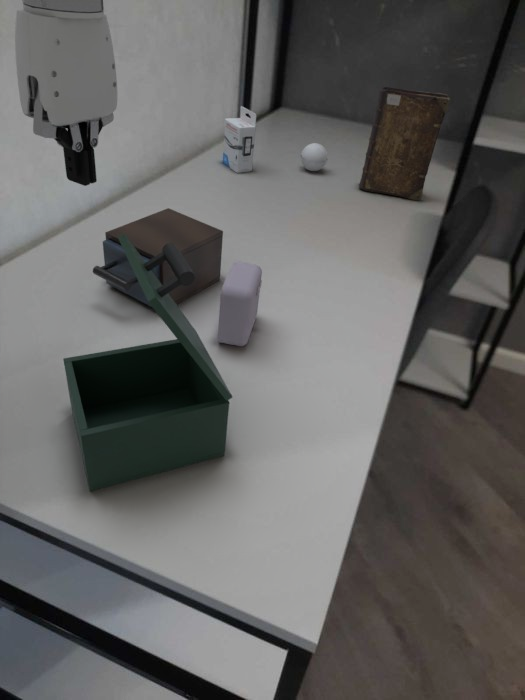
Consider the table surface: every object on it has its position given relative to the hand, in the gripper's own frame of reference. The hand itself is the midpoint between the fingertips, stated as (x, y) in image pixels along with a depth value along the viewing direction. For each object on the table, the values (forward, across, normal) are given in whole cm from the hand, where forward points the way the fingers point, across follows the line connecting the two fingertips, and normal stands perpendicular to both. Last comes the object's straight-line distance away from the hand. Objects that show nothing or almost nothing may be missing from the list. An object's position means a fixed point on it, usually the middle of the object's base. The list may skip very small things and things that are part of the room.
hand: (81, 180), depth 62 cm
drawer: (+23, -16, -4) cm, 28 cm away
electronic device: (+24, -16, +15) cm, 32 cm away
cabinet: (+24, -20, -3) cm, 31 cm away
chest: (+24, +10, +17) cm, 31 cm away
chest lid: (+8, +7, +19) cm, 22 cm away
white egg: (+24, -93, -9) cm, 96 cm away
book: (+24, -95, +13) cm, 99 cm away
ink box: (+24, -80, -26) cm, 88 cm away
